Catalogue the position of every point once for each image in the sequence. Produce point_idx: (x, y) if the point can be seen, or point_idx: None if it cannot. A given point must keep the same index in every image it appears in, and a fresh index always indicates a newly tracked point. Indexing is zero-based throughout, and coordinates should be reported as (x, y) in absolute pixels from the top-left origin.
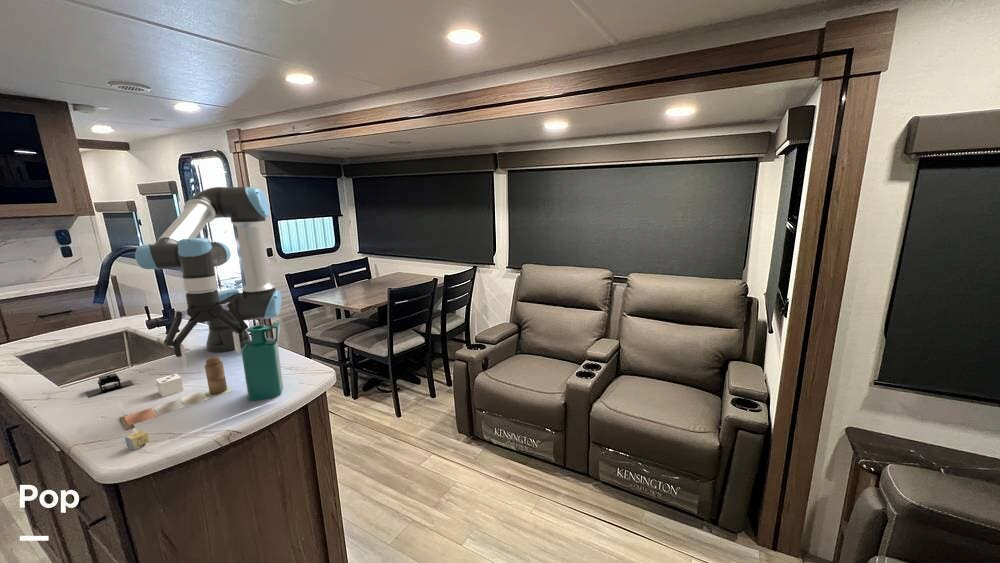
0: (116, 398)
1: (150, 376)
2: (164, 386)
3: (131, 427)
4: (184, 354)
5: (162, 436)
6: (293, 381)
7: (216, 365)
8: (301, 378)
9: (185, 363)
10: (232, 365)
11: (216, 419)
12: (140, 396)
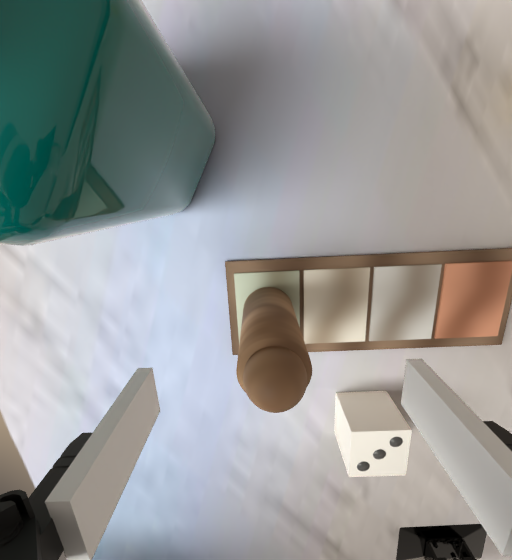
0: None
1: (358, 553)
2: (394, 419)
3: (508, 249)
4: (463, 418)
5: (483, 98)
6: None
7: (271, 337)
8: None
9: (425, 373)
10: (184, 484)
11: (335, 81)
12: (416, 448)
